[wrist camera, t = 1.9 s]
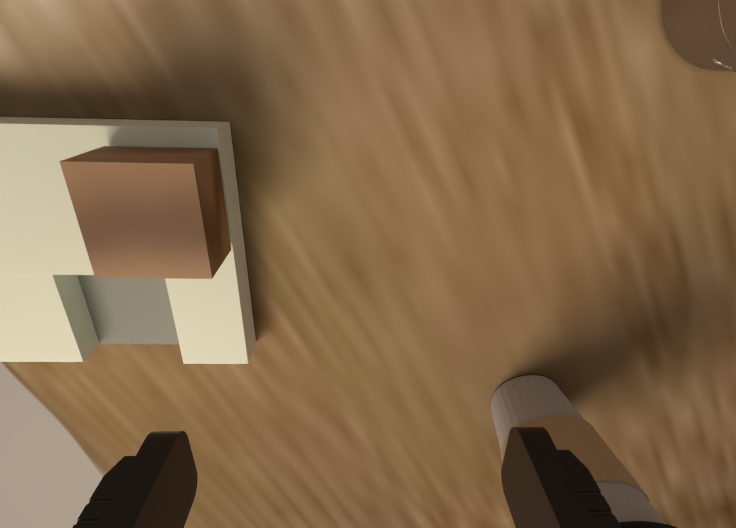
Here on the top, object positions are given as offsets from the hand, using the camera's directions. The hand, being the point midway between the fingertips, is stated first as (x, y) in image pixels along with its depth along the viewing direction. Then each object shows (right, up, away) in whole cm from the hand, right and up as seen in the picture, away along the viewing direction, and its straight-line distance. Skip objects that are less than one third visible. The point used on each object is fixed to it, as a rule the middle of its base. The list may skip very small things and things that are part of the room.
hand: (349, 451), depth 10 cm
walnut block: (-11, +8, +13) cm, 19 cm away
